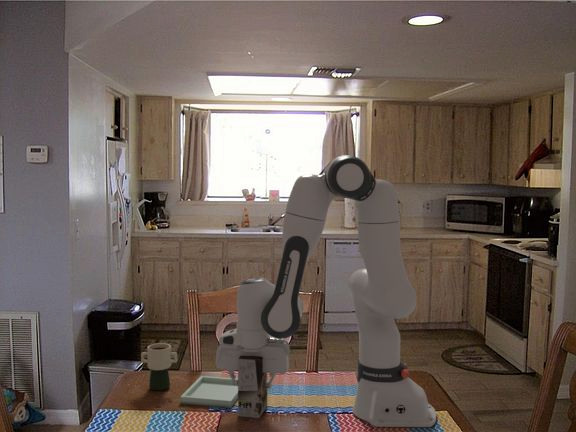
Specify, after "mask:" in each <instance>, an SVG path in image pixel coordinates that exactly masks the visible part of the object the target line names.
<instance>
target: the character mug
mask: <svg viewBox="0 0 576 432" xmlns="http://www.w3.org/2000/svg"><path fill="white" fill-rule="evenodd" d="M146 350H147V351H143V352H141V354H140V357H141V358H140V361H141V363H143V364H147V368H148V369H149V370H150V376H149V386H148V388H149V389H150V390H154V391H162V390H163V391H164V390H165V389H168V388H169V387H171V381H170V380H171V379H170V374H169V369H168V368H170V367H171V365H172V364H176V363H178V353H177V352H176V351H172V345H171V344H169V343H165V342H159V343H157V342H156V343H153V344H152V343H151V344H149V345H148V346H147V349H146ZM145 356H147V359H145ZM172 356H173V359H172Z"/></svg>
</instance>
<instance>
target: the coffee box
mask: <svg viewBox="0 0 576 432" xmlns="http://www.w3.org/2000/svg"><path fill="white" fill-rule="evenodd" d="M237 377H238V399H237V416H238V417H244V418H253V419H260V418H261V417H262V415H263V413H264V411H265V410H266V408H267V406H268V388H265V386H266V385H265V383H266V381H267V380H268V373H264V372H263V357H260V356H240V357H239V358H238V370H237Z"/></svg>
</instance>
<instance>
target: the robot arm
mask: <svg viewBox="0 0 576 432" xmlns="http://www.w3.org/2000/svg"><path fill="white" fill-rule="evenodd" d="M337 197H339V198H344V199H349V200H354V202H355V205H356V209H357V236H358V237H357V238H358V251H359V252H358V253H359V254H360V256H361V258H362V261H363V263H364V266H365V268H360V269H357V270H356V271H354V272H353V273H352V274H351V276H350V277H349V280H348V282H347V288H348V293H349V294H350V297H351V299H352V302H353V307H354V312H355V316H356V323H357V329H358V336H359V338H358V347H359V348H358V359H357V365H356V380H357V387H356V388H357V389H356V394H355V398H354V403H353V407H352V409H351V410H352V413H353V415H354V416H356V417H357V418H358V419H361V420H363V421H366V422H367V423H369V424H370V425H371V426H373V427H377V428H378V427H379V428H430V427H433V426H434V425H435V424H436V422H437V412H436V409H435V408H434V407H433V406H432V405H431V404H430V403H429V401H428V398H427V394H426V392H425V390H424V388H423V387H421V386H420V385H419V384H418V383H416V382H415V381H413V380H412V379H411V378H410V371H409V369H408V366H407V364H406V362H404V363H403V362H402V361H401V333H400V330H399V328H398V326H397V325H396V322H395V319H396V320H400V319H401V320H402V319H405V318H407V317H409V316H410V315H411V314H412V313H413V311H415V308H416V306H417V300H418V296H417V292H416V289H415V288H414V287H413V286H412V283H411V282H410V279H409V276H408V274H407V270H406V267H405V266H406V265H405V262H404V258H403V254H402V248H401V227H400V208H399V201H398V195H397V192H396V188H395V186H394V184H392V182H390V181H388V180H385V179H381V178H379V179H378V178H377V179H376V178H375V177H374V175H373V174H372V172H371V170H370V169H369V166H368V165H367V164H366V163H365V161H363V159H360V158H359V157H357V156H353V155H349V154H342V155H340V156H337V157H335V158H334V159H332V160H331V161H330V162H329V163H328V164H326V166H325V167H324V168H323V169H322V171H320V173H318V174H311V173H308V174H302V175H300V176H299V177H297V178H296V180H295V182H294V184H293V186H292V189H291V191H290V193H289V196H288V201H287V203H286V207H285V211H284V216H283V225H282V244H281V259H280V260H281V261H280V266H279V270H278V274H277V277H276V278H277V279H276V283H275V284H274V283H272V282H270V281H269V280H268V279H267V278H265V277H258V276H257V277H252V278H249V279H245V280H244V281H242V282H241V283H240V285H239V286H238V289H237V293H236V294H237V295H236V313H237V322H236V328H234V329H233V328H232V329H230V330H226V331H225V332H223V333H222V334H221V335H220V336H219V339H218V340H219V341H218V342H219V344H218V346H217V348H216V353H215V366H216V368H217V369H219V370H227V371H228V375H229V378H231V379H232V385H238V376H236V374H235V372H236V371H238V358H239V357H240V356H260V357H263V372H264V373H267V374H269V377H270V379H267V381H266V383H265V385H266V386H265V388H267V389H272V387H273V381H274V378H275V377H276V375H277V374H278V375H284V374H286V373H287V372H288V371H289V369H290V360H289V359H290V358H289V354H290V352H291V349H290V347H291V346H290V343H289V342H288V341H286V340H285V339H288V338H290V337H292V336H294V334H296V333H297V331H298V330H299V328H300V325H301V318H302V315H303V311H304V302H303V300H302V298H301V296H300V295H299V294H300V291H301V287H302V284H303V283H302V282H303V278H304V273H305V270H306V266H307V263H309V259H310V258H311V256H312V254H313V252H314V251H315V249H316V247H317V246H318V243H319V241H320V240H321V237H322V234H323V232H324V228H325V225H326V220H327V216H328V210H329V208H330V205H331V204H332V202H333V200H334V199H336V198H337ZM269 336H270V337H269Z"/></svg>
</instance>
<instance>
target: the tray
mask: <svg viewBox="0 0 576 432" xmlns="http://www.w3.org/2000/svg"><path fill="white" fill-rule="evenodd" d="M179 398H180V404H181V405H192V406H193V405H194V406H204V407H206V406H207V407H214V408H215V407H217V408H227V409H231V408H233V406H234V405H235V403H236V402H238V385H232V379H231V377H224V376H223V377H221V376H209V375H200V376H199V378H197V379H196V380H195V381H194V382H193V383H192V384H191V385H190V386H189V388H187V389H186V390H185V391H184V393H183V394H181V396H180V397H179Z"/></svg>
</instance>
